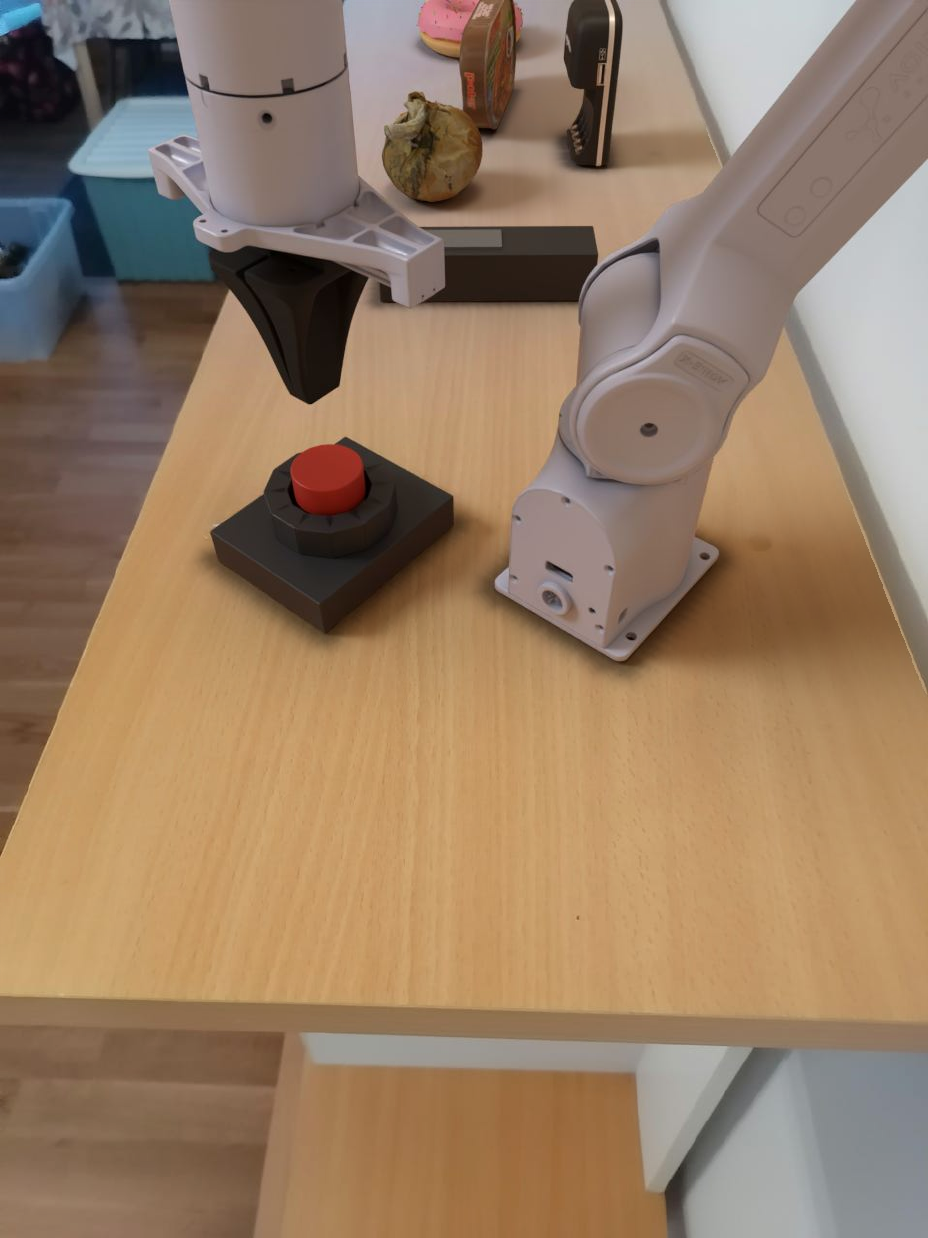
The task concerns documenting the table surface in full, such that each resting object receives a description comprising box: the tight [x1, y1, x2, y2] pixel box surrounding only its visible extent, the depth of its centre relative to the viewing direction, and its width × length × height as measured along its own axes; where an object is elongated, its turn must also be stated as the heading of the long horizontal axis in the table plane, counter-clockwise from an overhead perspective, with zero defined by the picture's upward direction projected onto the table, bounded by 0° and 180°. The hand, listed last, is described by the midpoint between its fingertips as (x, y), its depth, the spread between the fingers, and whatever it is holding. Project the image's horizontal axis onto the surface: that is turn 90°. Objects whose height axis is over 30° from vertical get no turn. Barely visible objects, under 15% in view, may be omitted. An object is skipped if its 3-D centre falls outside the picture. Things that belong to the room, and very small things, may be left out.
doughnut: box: [416, 0, 524, 59], centre depth 98 cm, size 11×11×4 cm
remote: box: [378, 225, 599, 303], centre depth 67 cm, size 15×4×4 cm, turn 90°
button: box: [290, 443, 366, 516], centre depth 48 cm, size 4×4×2 cm
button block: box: [209, 436, 455, 634], centre depth 50 cm, size 10×8×4 cm
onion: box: [381, 90, 483, 203], centre depth 75 cm, size 8×8×8 cm
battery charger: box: [563, 0, 624, 167], centre depth 78 cm, size 7×4×11 cm, turn 2°
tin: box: [458, 0, 517, 130], centre depth 85 cm, size 15×3×8 cm, turn 168°
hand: (315, 389), depth 44 cm, fingers closed
